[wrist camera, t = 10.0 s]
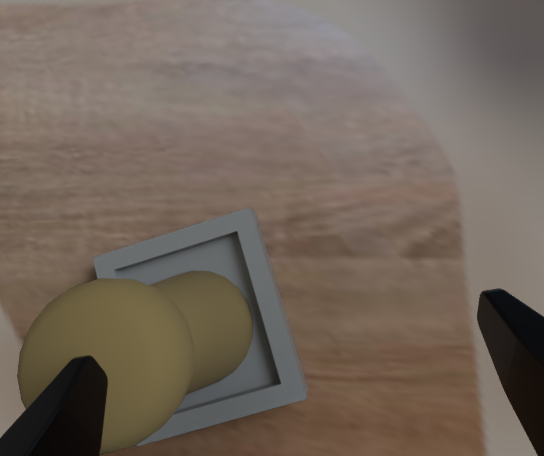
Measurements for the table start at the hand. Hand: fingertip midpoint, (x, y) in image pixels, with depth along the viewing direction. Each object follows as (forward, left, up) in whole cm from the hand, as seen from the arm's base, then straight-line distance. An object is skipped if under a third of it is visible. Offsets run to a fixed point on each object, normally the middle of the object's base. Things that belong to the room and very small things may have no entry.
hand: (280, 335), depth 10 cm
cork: (0, +6, -13) cm, 14 cm away
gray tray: (+1, +6, -14) cm, 15 cm away
